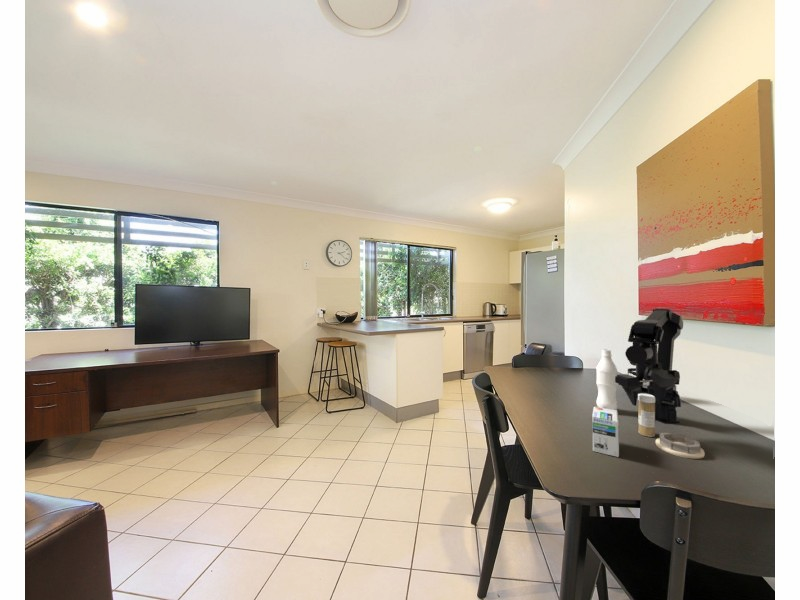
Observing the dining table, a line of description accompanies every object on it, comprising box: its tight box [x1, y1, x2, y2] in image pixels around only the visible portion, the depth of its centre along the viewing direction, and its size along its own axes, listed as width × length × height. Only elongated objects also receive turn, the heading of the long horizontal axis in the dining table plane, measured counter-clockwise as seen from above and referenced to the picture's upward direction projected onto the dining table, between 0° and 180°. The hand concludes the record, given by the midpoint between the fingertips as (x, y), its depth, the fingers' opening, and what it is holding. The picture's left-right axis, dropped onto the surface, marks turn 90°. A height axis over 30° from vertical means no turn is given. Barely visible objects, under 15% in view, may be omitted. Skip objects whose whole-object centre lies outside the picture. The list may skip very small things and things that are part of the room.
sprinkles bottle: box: [637, 394, 656, 438], centre depth 102 cm, size 5×5×13 cm
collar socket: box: [655, 432, 706, 460], centre depth 93 cm, size 11×11×3 cm
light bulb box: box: [591, 406, 620, 458], centre depth 95 cm, size 11×7×11 cm, turn 145°
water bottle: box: [595, 348, 619, 411], centre depth 123 cm, size 7×7×25 cm
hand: (646, 404), depth 102 cm, fingers open, 9 cm apart
